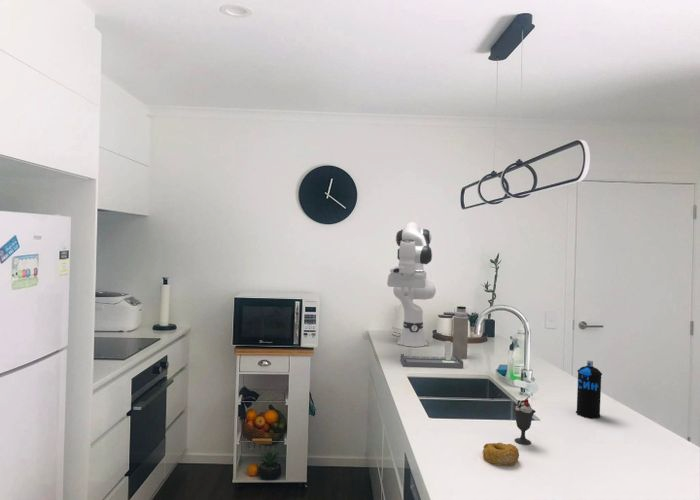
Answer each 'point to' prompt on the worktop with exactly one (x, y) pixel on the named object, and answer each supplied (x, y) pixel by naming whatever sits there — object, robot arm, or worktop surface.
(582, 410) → the aerosol can
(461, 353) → the thermos bottle
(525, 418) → the sundae
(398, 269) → the robot arm
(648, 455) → the worktop surface
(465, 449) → the worktop surface
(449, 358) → the fader knob
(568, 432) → the worktop surface
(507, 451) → the bagel
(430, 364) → the console
